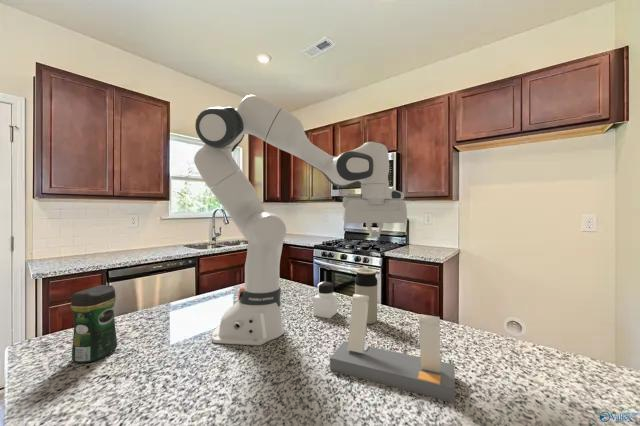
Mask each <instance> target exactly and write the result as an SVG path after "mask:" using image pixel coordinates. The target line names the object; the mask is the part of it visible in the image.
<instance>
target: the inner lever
mask: <svg viewBox="0 0 640 426" xmlns="http://www.w3.org/2000/svg"><path fill="white" fill-rule="evenodd" d="M368 303H369V296H365V295H357V294H355V293H353V294H352V303H351V311H350V312H351V313H350V322H349V328H348V329H349V331H348V341H347V342H348V347H347V350H351V351H355V352H360V353H364V347H365V344H366V335H367V325H368V324H367V314H368Z"/></svg>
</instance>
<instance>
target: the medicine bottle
mask: <svg viewBox="0 0 640 426" xmlns="http://www.w3.org/2000/svg"><path fill="white" fill-rule="evenodd" d="M312 299H313V300H312V304H313V306H312V310H313V311H312V313H313V314H312V315H313V317H318V318H325V319H332V318H333V317H334V316H335V315H336V314H337V313H338V294H335V293H334V283H332V282H330V281H321V282H319V283H318V284H317V294H316V295H315V296H313V297H312Z"/></svg>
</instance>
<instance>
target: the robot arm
mask: <svg viewBox="0 0 640 426" xmlns="http://www.w3.org/2000/svg"><path fill="white" fill-rule="evenodd" d="M194 126H195V132H196V134H197V136H198V138H199V139H200V141H202V142H203V144H204V145H203V146H202V147H201V148H199V149H198V150H197V152H196V153H195V154H194V158H193V163H194V165H195V167H196V169H197V171H198V173H199V175H200V176H201V178H202V179H203V182H205V185H206V186H207V187H208V188H209V189H210V191H211V193H212V194H213V195H214V196H215V198H216V200H217V201H218V202H219V203H220V205H222V207H223V209H225V211H226V212H227V214H228V216H229V217H230V219H231V220H232V221H233V223H234V225H236V228H238V231H239V232H240V233H241V235H242V236H243V237H244V238H245V240H247V247H246V248H247V251H246V258H245V263H244V286H241V287H240V288H239V290H238V295H237V297H238V298H237V299H238V301H237V302H235V303H234V304H233V305H232V306H230V307H229V308H228V309H226V311H224V313H223V315H222V316H221V318H220V322H219V325H217V327H216V328H215V329H214V330H213V332H212V335H211V341H212V342H213V343H214V344H228V345H230V344H231V345H244V346H245V345H246V346H247V345H248V346H262V345H263V344H266V343H267V342H269V341H273V340H275V339H277V338H279V337H281V336H282V335H283V334H284V333H285V326H284V323H283V318H282V311H281V310H282V309H281V305H282V289H281V286H280V283H281V281H280V273H281V271H280V268H281V267H280V266H281V265H280V264H281V256H282V251H283V245H284V240H285V238H286V235H287V226H286V223H285V222H284V221H283V220H282V218H281V217H279V215H277V214H276V213H273V212H269V211H267V210H266V208H265V207H264V204H263V202H262V201H261V200H260V197H259V195H258V193H257V190H256V189H255V187H254V186H253V185H252V183H251V181H250V179H248V177H247V175H246V174H245V173H244V172H243V171H242V169H241V167H240V166H239V165H238V163H237V162H236V160H235V158H234V157H233V152H234V151H235V150H236V149H237V147H238V146H239V145H240V144H241V142H242V141H243V139H244V137H245V135H251V136H254V137H256V138H258V139H260V140H261V141H264V142H266V143H267V144H269V145H271V146H273V147H275V148H277V149H279V150H281V151H284V152H286V153H289V154H290V155H292V156H295V157H296V158H298V159H300V160H301V161H303V162H305V163H307V164H308V165H309V166H311V167H313V168H314V169H316V170H318V171H319V172H320V173H322V174H323V175H324V177H325V178H326V179H327V180H328V182H329V183H330V184H332V186H335V187H339V188H341V187H346V186H348V185H351V184H353V183H356V182H359V183H360V193H354V194H352V193H347V194H346V195H344V196H343V197H342V206H343V212H342V220H343V222H344V223H346V224H357V223H358V224H365V226H366V228H367V230H368V232H369V238H380V237H381V231H383V228H384V224H404V223H406V221H407V220H408V209H407V204H406V202H405V201H404V199H405V194H404V192H402V191H399V190H396V189H393V188H390V181H389V173H390V157H389V151H388V148H387V146H386V145H385V144H383V143H381V142H377V141H367V142H364V143H363V144H362V145H360V146H359V147H357V148H355V149H352V150H347V151H345V152H342V153H340V154H339V155H338V156H334V155H331V154H329V153H327V152H326V151H324V150H323V149H321V148H319V146H316V145H315V144H313V143H312V142H311V141H310V139H309V138H308V136H307V135H306V131H305V130H304V125H303V124H302V121H301V120H300V119H298V117H297V116H295V114H293V113H292V112H290V111H289V110H286V109H285V108H283V107H282V106H280V105H278V104H277V103H274V102H272V101H270V100H268V99H265V98H263V97H260V96H257V95H254V94H249V95H246V96H245V97H244V98H243V99H241V101H240V102H239V104H238V106H236V108H234V107H232V106H226V107H225V106H223V107H221V106H213V107H208V108H206V109H204V110H202V111H201V112H200V113H199V114H198V115H197V117H196V119H195V125H194ZM373 224H376V226H377V227H378V228H377V230H375V231H374V230H373V229H372V227H373Z"/></svg>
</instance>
